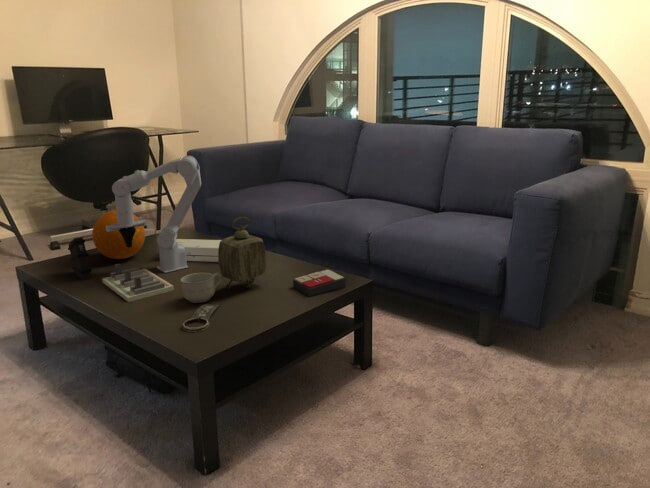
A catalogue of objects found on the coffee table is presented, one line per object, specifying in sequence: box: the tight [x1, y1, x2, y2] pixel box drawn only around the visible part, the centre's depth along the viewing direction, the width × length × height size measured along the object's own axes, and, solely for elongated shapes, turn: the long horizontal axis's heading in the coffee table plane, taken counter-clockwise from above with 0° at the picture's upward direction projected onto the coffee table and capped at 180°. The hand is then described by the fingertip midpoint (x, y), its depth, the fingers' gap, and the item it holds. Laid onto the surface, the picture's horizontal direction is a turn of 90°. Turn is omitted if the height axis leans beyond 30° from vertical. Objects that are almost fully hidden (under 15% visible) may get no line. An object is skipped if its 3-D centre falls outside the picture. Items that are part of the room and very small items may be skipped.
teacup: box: [180, 272, 223, 304], centre depth 180 cm, size 14×11×8 cm
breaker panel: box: [101, 266, 175, 303], centre depth 192 cm, size 16×24×3 cm, turn 40°
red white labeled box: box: [292, 269, 347, 297], centre depth 190 cm, size 11×4×15 cm
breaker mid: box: [124, 269, 132, 282], centre depth 190 cm, size 2×2×5 cm
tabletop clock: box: [218, 216, 267, 290], centre depth 187 cm, size 14×9×25 cm, turn 135°
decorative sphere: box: [91, 209, 146, 260], centre depth 221 cm, size 20×20×20 cm
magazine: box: [67, 236, 92, 281], centre depth 203 cm, size 4×13×15 cm, turn 40°
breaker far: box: [114, 263, 123, 276], centre depth 196 cm, size 2×2×5 cm
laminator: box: [175, 238, 223, 263], centre depth 224 cm, size 34×12×6 cm, turn 82°
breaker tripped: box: [134, 276, 142, 289], centre depth 183 cm, size 2×2×5 cm
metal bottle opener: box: [181, 304, 221, 333], centre depth 166 cm, size 8×19×2 cm, turn 172°
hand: (129, 246), depth 206 cm, fingers closed
